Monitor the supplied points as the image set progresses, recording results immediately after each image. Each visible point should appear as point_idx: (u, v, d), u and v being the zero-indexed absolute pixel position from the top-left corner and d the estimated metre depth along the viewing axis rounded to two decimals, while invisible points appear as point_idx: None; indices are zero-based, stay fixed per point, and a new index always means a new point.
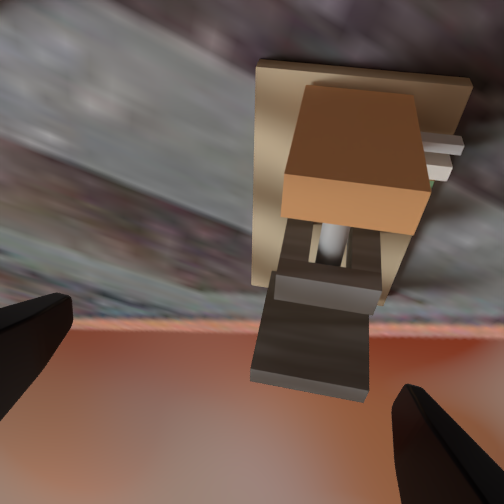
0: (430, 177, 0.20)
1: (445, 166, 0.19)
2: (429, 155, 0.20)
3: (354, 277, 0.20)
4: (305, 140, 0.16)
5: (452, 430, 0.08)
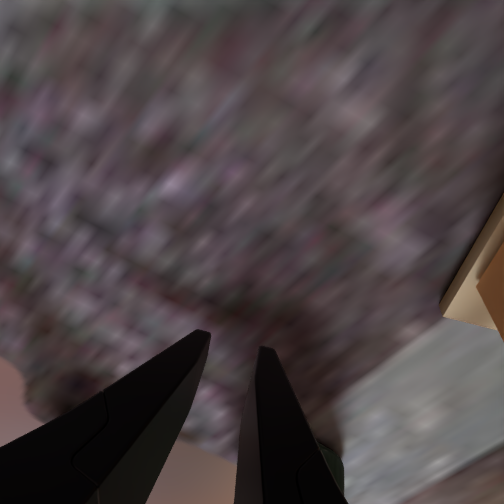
0: None
1: None
2: None
3: None
4: None
5: (275, 384, 0.09)
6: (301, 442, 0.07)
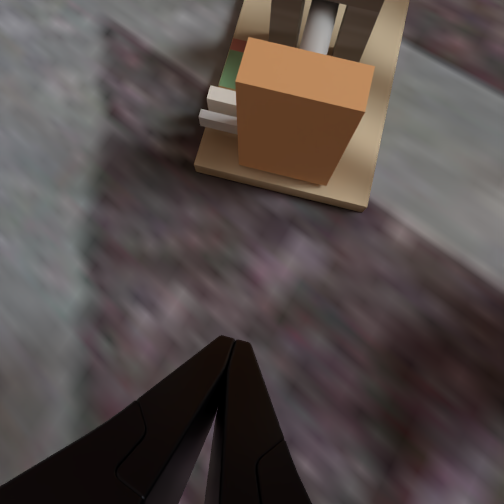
0: (224, 90, 0.22)
1: (212, 100, 0.22)
2: (225, 111, 0.22)
3: None
4: (337, 139, 0.17)
5: (247, 376, 0.09)
6: (266, 433, 0.07)
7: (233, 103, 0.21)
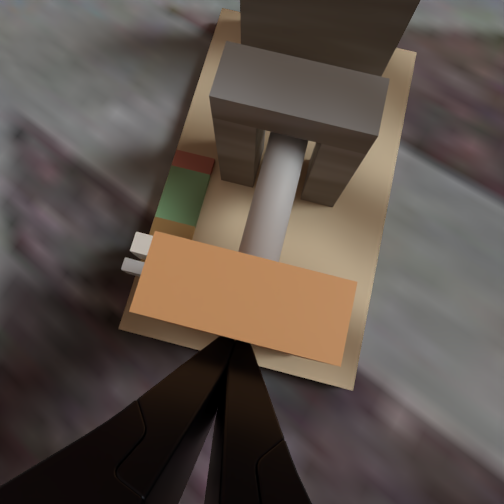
0: None
1: (137, 253, 0.16)
2: None
3: (251, 116, 0.13)
4: None
5: (247, 376, 0.09)
6: (266, 432, 0.07)
7: None
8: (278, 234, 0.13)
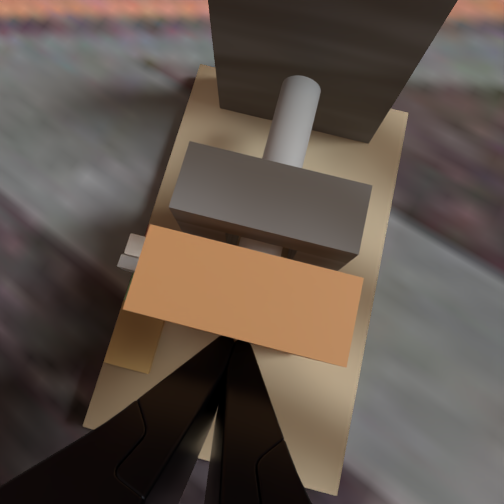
0: None
1: (132, 255, 0.15)
2: None
3: (218, 225, 0.11)
4: None
5: (247, 376, 0.09)
6: (266, 433, 0.07)
7: None
8: None
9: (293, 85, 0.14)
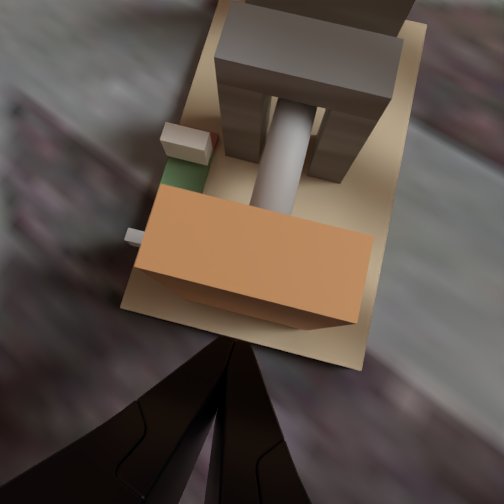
0: (184, 129, 0.16)
1: (167, 142, 0.16)
2: (186, 155, 0.17)
3: (258, 80, 0.12)
4: (315, 322, 0.11)
5: (247, 376, 0.09)
6: (266, 433, 0.07)
7: (196, 146, 0.16)
8: (287, 198, 0.13)
9: None
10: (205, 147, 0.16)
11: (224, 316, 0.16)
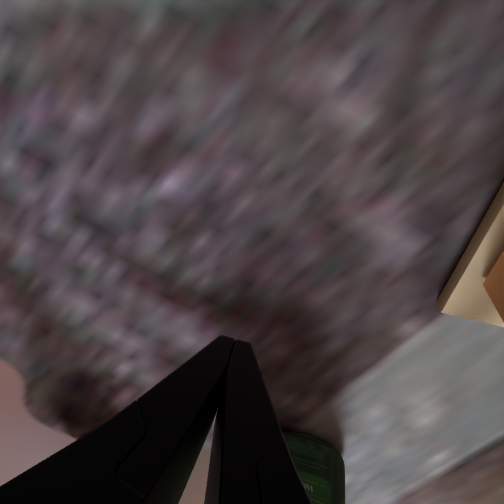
0: None
1: None
2: None
3: None
4: None
5: (247, 376, 0.09)
6: (266, 432, 0.07)
7: None
8: None
9: None
10: None
11: None
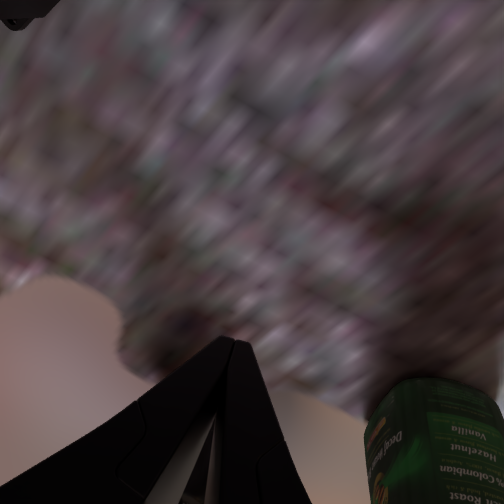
0: None
1: None
2: None
3: None
4: None
5: (247, 376, 0.09)
6: (265, 433, 0.07)
7: None
8: None
9: None
10: None
11: None
